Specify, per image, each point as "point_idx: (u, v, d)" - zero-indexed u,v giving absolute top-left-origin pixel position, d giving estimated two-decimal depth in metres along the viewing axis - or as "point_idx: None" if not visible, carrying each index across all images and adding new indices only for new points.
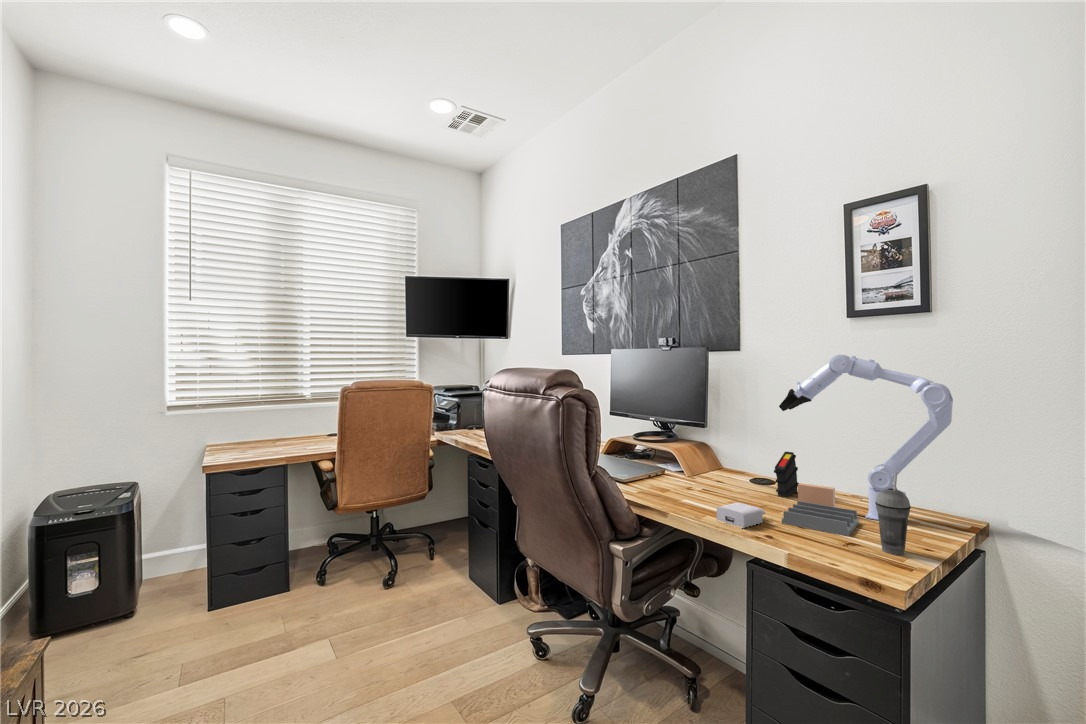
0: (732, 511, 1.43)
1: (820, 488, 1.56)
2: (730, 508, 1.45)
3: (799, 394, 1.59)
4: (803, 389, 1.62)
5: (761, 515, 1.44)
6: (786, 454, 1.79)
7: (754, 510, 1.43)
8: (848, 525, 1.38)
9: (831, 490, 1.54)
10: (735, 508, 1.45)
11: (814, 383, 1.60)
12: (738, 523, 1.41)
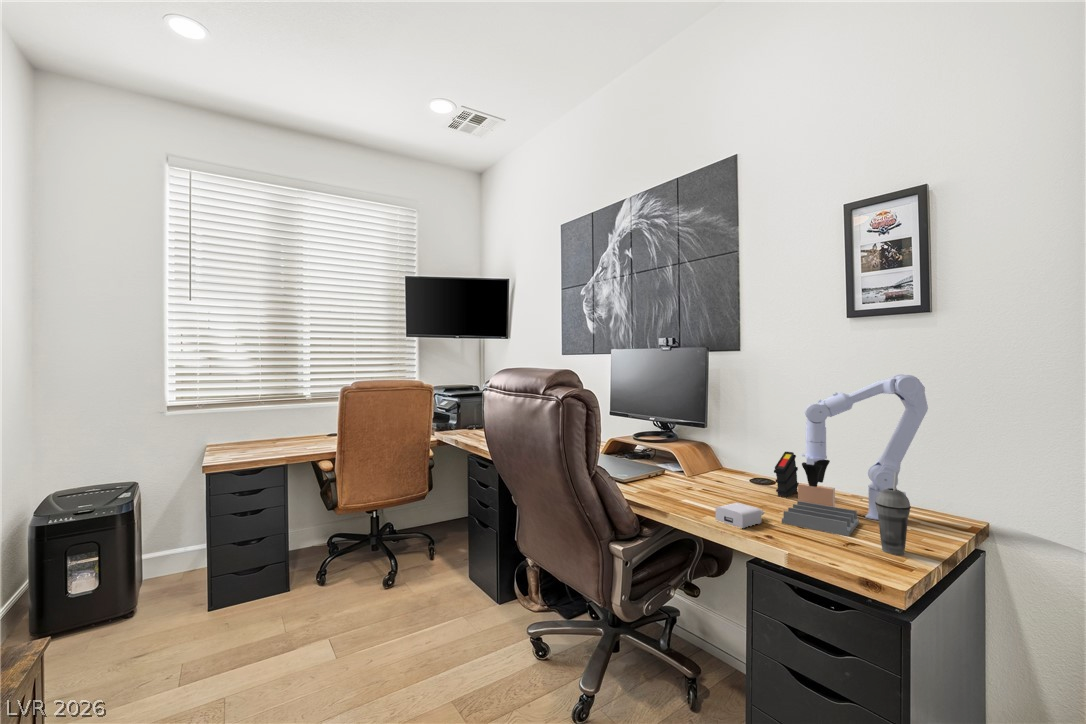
0: (731, 511, 1.43)
1: (820, 488, 1.56)
2: (729, 508, 1.45)
3: (811, 461, 1.52)
4: (811, 455, 1.56)
5: (760, 515, 1.44)
6: (786, 454, 1.79)
7: (753, 510, 1.43)
8: (848, 525, 1.38)
9: (831, 490, 1.54)
10: (734, 508, 1.45)
11: (813, 444, 1.56)
12: (737, 523, 1.41)
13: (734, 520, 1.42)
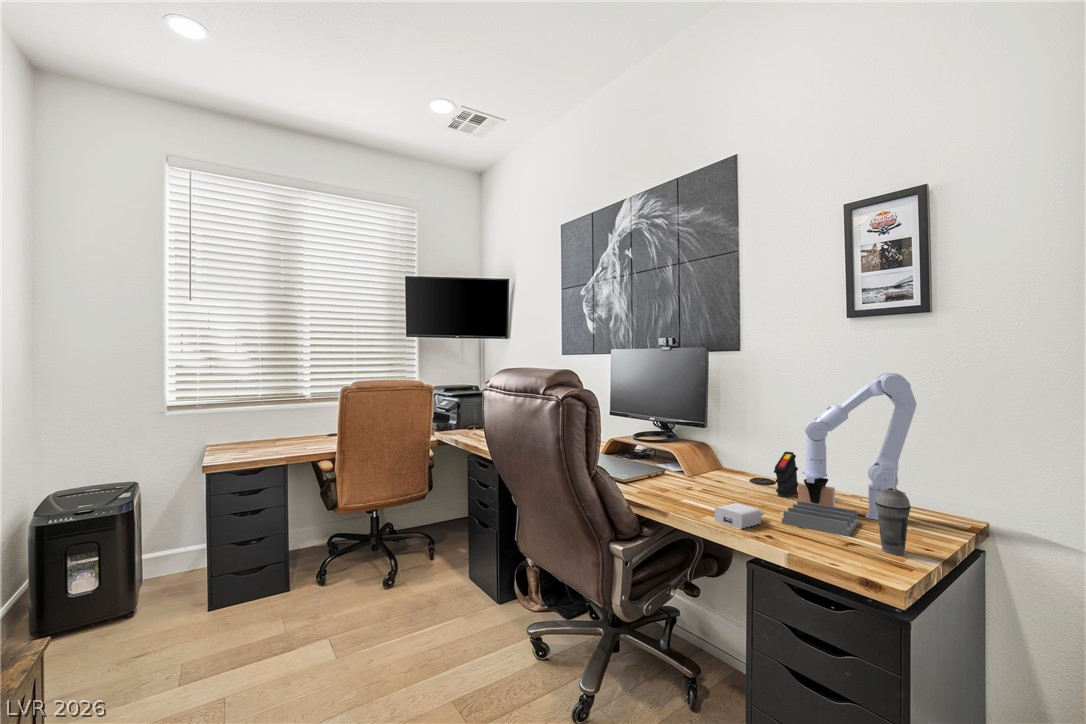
0: (730, 512, 1.42)
1: None
2: (728, 509, 1.44)
3: (811, 479, 1.52)
4: (811, 473, 1.56)
5: (759, 516, 1.43)
6: (786, 454, 1.79)
7: (752, 511, 1.43)
8: (848, 525, 1.38)
9: (831, 490, 1.54)
10: (733, 509, 1.44)
11: (813, 462, 1.56)
12: (736, 524, 1.40)
13: (733, 521, 1.41)
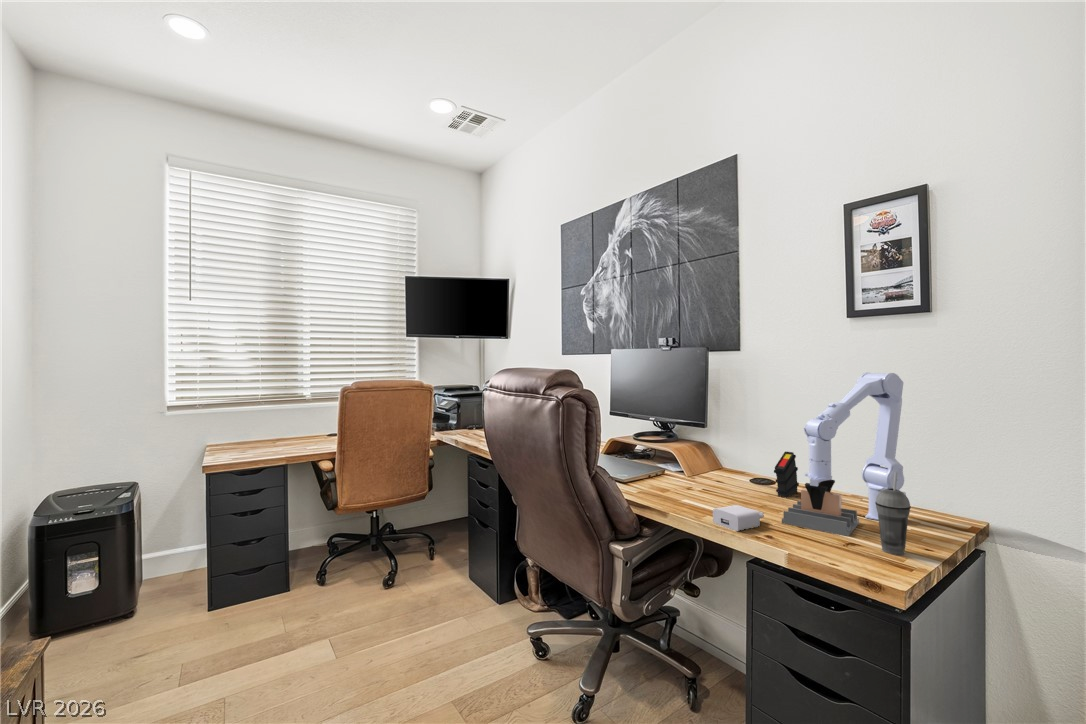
0: (727, 513, 1.41)
1: (825, 494, 1.43)
2: (726, 510, 1.43)
3: (815, 482, 1.40)
4: (815, 475, 1.44)
5: (758, 518, 1.41)
6: (786, 454, 1.79)
7: (750, 513, 1.41)
8: (848, 525, 1.38)
9: (837, 496, 1.41)
10: (731, 510, 1.42)
11: (817, 463, 1.43)
12: (733, 526, 1.39)
13: (730, 522, 1.40)
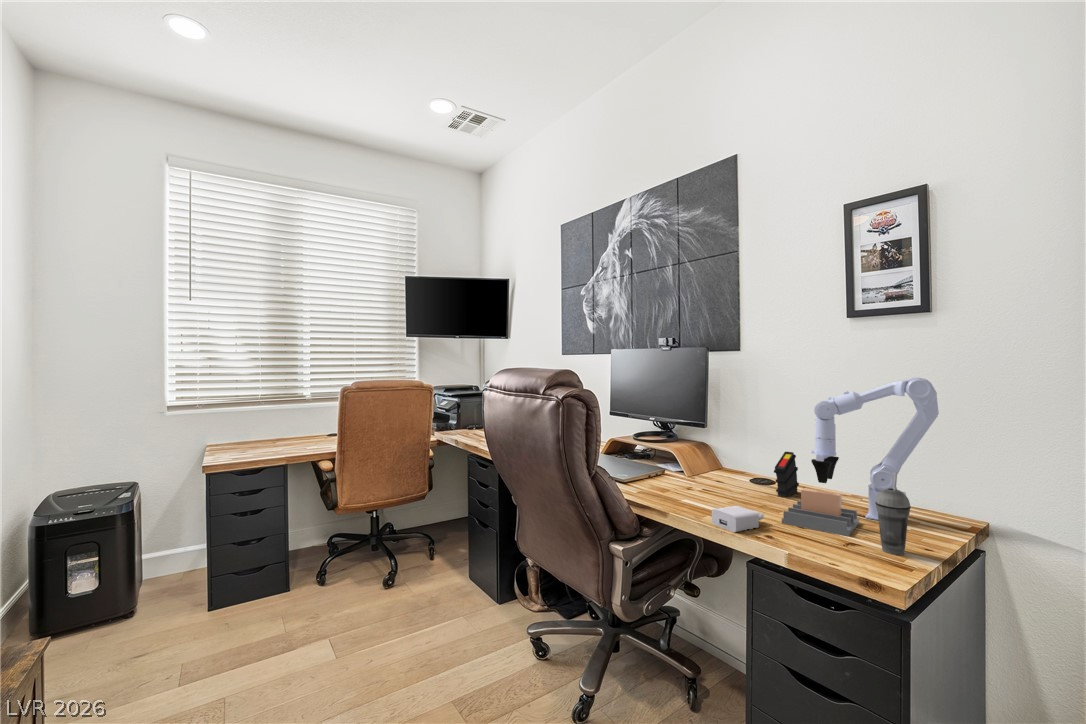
0: (725, 514, 1.40)
1: (825, 494, 1.43)
2: (724, 511, 1.42)
3: (821, 458, 1.53)
4: (821, 452, 1.57)
5: (757, 519, 1.40)
6: (786, 454, 1.79)
7: (749, 514, 1.40)
8: (848, 525, 1.38)
9: (837, 496, 1.41)
10: (729, 511, 1.42)
11: (823, 441, 1.57)
12: (731, 527, 1.38)
13: (728, 523, 1.39)
